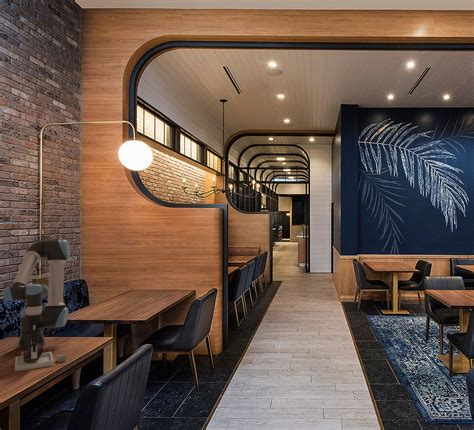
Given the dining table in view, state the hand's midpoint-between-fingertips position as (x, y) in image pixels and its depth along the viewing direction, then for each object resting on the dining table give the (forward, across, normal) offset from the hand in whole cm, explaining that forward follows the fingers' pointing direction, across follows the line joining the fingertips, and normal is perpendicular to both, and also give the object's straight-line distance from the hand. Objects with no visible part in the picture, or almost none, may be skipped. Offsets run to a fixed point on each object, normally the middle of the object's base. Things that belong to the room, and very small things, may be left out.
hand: (34, 354), depth 220 cm
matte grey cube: (+5, -15, -4) cm, 16 cm away
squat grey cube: (+5, +2, +13) cm, 14 cm away
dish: (+4, 0, 0) cm, 4 cm away
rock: (+3, +1, 0) cm, 3 cm away
